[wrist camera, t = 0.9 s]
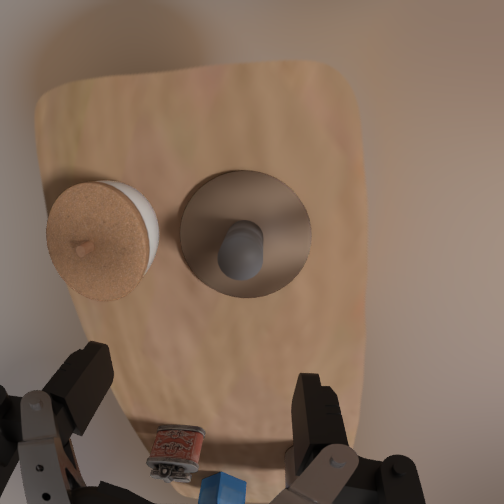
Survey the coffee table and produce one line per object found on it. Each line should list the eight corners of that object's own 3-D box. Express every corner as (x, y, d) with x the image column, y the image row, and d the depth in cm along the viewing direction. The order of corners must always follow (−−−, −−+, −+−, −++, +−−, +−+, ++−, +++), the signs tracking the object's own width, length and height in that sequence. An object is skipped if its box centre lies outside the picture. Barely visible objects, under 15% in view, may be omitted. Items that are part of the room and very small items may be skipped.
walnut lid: (332, 255, 31) (349, 283, 24) (228, 313, 34) (220, 350, 27) (265, 145, 28) (266, 142, 21) (158, 216, 30) (131, 235, 24)
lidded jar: (193, 232, 30) (165, 266, 22) (127, 287, 33) (88, 330, 24) (130, 152, 28) (80, 156, 19) (71, 216, 30) (19, 240, 22)
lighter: (162, 436, 42) (147, 482, 32) (154, 424, 41) (137, 471, 31) (208, 437, 41) (198, 487, 32) (201, 424, 40) (190, 477, 31)
